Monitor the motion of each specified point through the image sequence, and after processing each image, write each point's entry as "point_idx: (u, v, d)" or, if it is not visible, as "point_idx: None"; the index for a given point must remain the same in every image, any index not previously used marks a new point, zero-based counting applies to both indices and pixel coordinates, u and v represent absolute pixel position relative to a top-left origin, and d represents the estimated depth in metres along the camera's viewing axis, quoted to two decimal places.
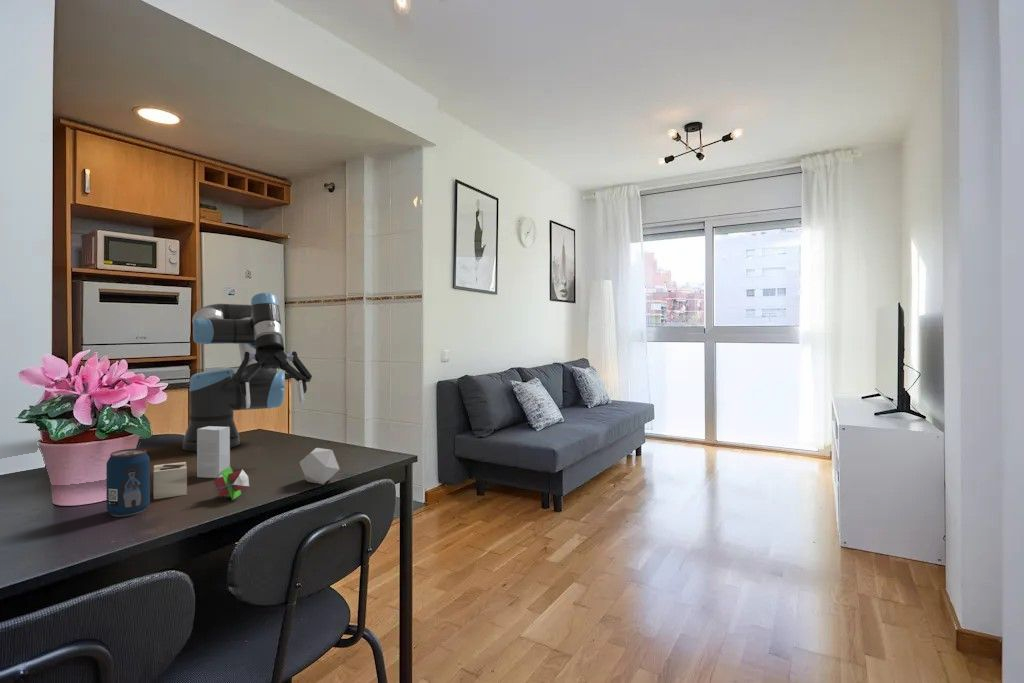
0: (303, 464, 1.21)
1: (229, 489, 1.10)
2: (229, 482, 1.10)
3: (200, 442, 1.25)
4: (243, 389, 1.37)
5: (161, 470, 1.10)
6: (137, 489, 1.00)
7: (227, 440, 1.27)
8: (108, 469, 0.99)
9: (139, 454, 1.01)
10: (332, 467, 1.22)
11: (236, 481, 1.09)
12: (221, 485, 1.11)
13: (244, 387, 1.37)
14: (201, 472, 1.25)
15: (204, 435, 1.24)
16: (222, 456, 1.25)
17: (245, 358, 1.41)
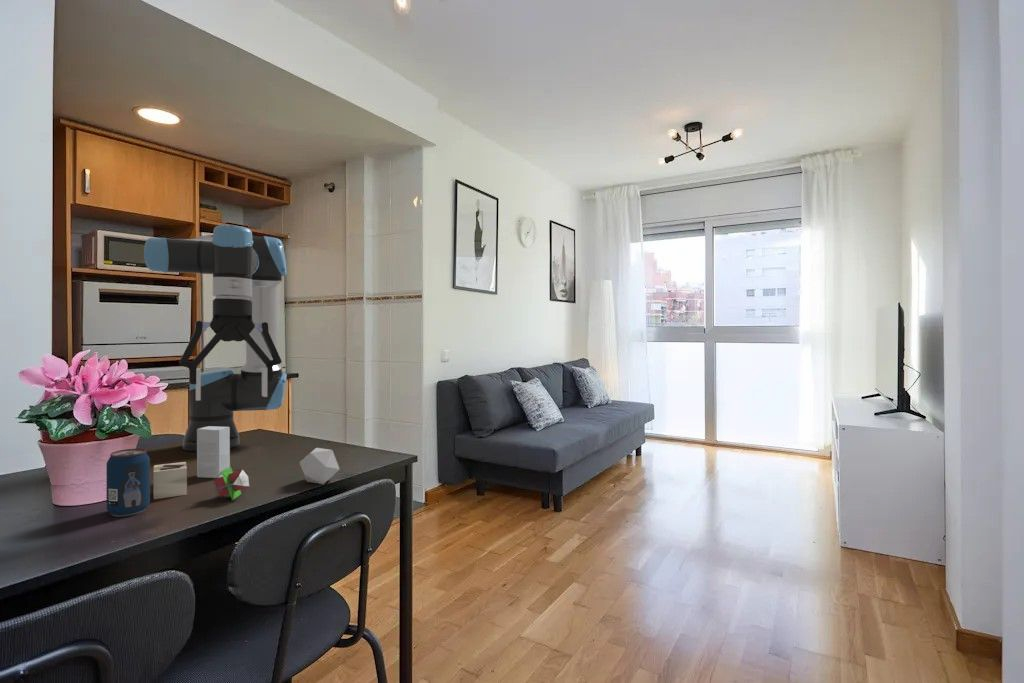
0: (303, 464, 1.21)
1: (229, 489, 1.10)
2: (229, 482, 1.10)
3: (200, 442, 1.25)
4: (192, 377, 1.06)
5: (161, 470, 1.10)
6: (137, 489, 1.00)
7: (227, 440, 1.27)
8: (108, 469, 0.99)
9: (139, 454, 1.01)
10: (332, 467, 1.22)
11: (236, 481, 1.09)
12: (221, 485, 1.11)
13: (194, 375, 1.06)
14: (201, 472, 1.25)
15: (204, 435, 1.24)
16: (222, 456, 1.25)
17: (197, 331, 1.06)
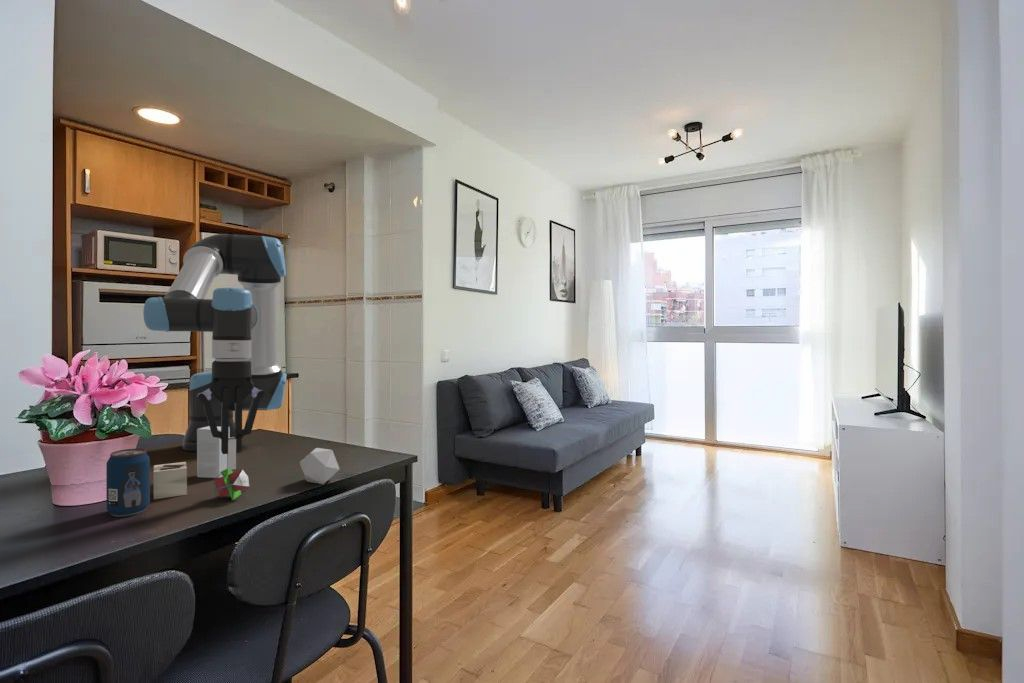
0: (303, 464, 1.21)
1: (229, 489, 1.10)
2: (229, 482, 1.10)
3: (200, 442, 1.25)
4: (224, 448, 1.09)
5: (161, 470, 1.10)
6: (137, 489, 1.00)
7: None
8: (108, 469, 0.99)
9: (139, 454, 1.01)
10: (332, 467, 1.22)
11: (236, 481, 1.09)
12: (221, 485, 1.11)
13: (226, 445, 1.10)
14: (201, 472, 1.25)
15: (204, 435, 1.24)
16: (222, 456, 1.25)
17: (205, 404, 1.07)
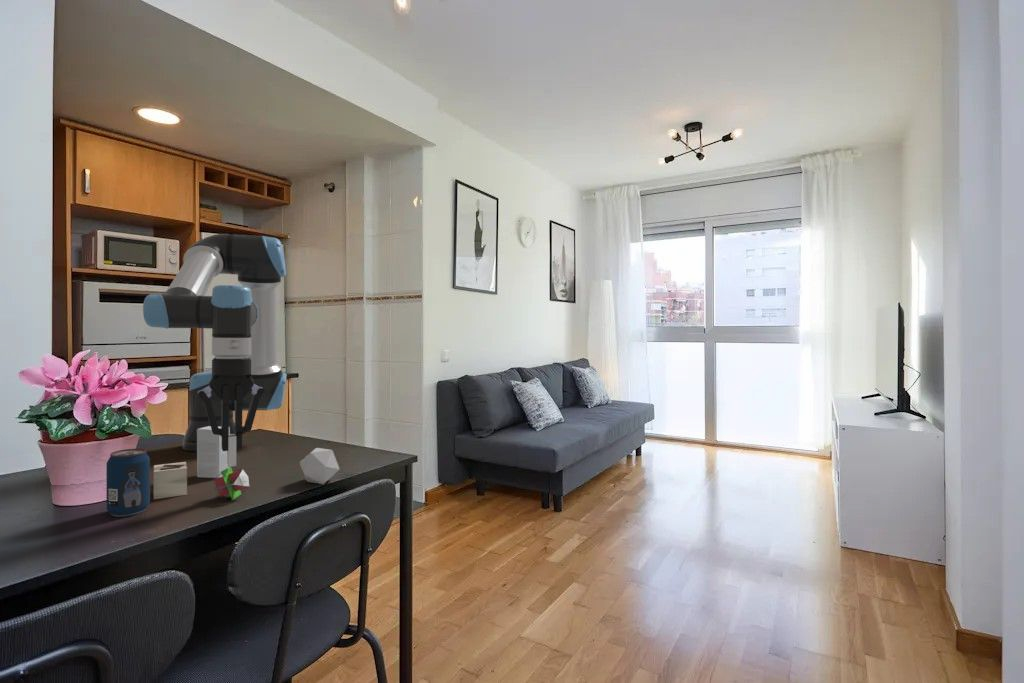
0: (303, 464, 1.21)
1: (229, 489, 1.10)
2: (229, 482, 1.10)
3: (200, 442, 1.25)
4: (225, 445, 1.10)
5: (161, 470, 1.10)
6: (137, 489, 1.00)
7: None
8: (108, 469, 0.99)
9: (139, 454, 1.01)
10: (332, 467, 1.22)
11: (236, 481, 1.09)
12: (221, 485, 1.11)
13: (226, 442, 1.10)
14: (201, 472, 1.25)
15: (204, 435, 1.24)
16: (222, 456, 1.25)
17: (205, 401, 1.07)
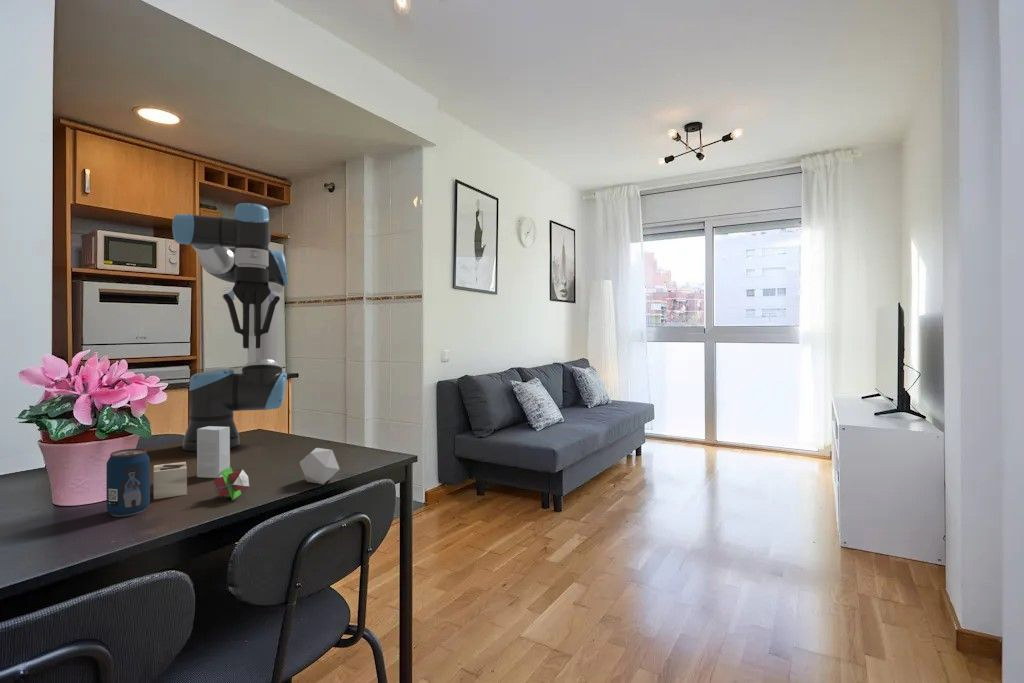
0: (303, 464, 1.21)
1: (229, 489, 1.10)
2: (229, 482, 1.10)
3: (200, 442, 1.25)
4: (246, 343, 1.26)
5: (161, 470, 1.10)
6: (137, 489, 1.00)
7: (227, 440, 1.27)
8: (108, 469, 0.99)
9: (139, 454, 1.01)
10: (332, 467, 1.22)
11: (236, 481, 1.09)
12: (221, 485, 1.11)
13: (247, 340, 1.27)
14: (201, 472, 1.25)
15: (204, 435, 1.24)
16: (222, 456, 1.25)
17: (229, 302, 1.24)
